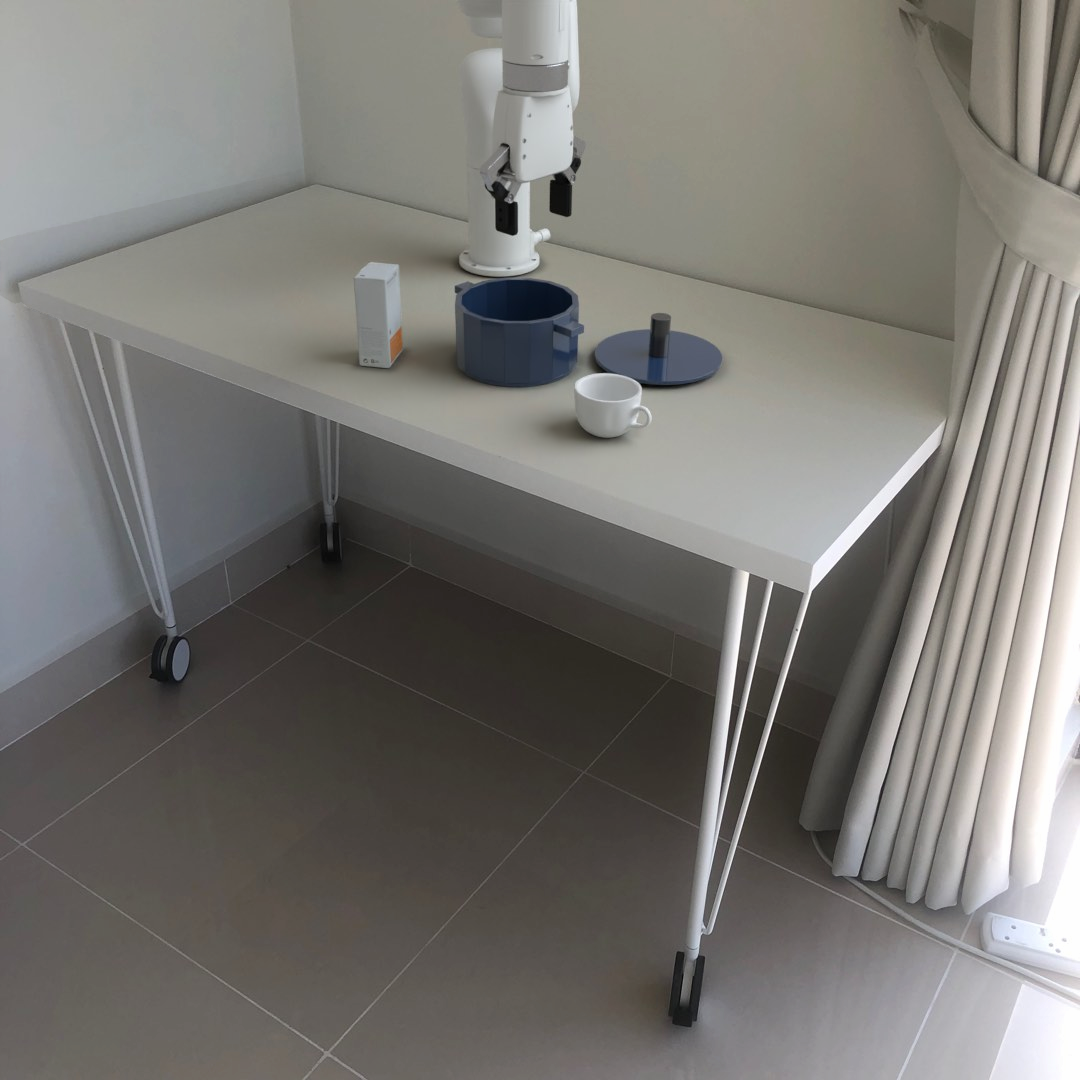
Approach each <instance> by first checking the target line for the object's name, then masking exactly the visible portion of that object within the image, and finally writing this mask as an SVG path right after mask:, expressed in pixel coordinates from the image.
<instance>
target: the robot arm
mask: <svg viewBox="0 0 1080 1080" xmlns="http://www.w3.org/2000/svg"><path fill="white" fill-rule="evenodd" d="M454 2H455V4H456V6H457V8H458V9H459V11H460V12H461V13H462V14H464V15H465V18H466V22H467V25H468V28H469V30H470V31H471V32H472V33H473V34H474V35H475V36H477V37H481V38H484V39H485V38H486V39H501V43H502V44H501V47H491V48H489V47H488V48H481V49H478V50H474V51H472V52H470V53H469V54H467V55H466V56H465V57H464V58H462V60H461V63H459V64H460V65H459V68H458V77H457V78H458V88H459V89H458V90H459V95H460V101H461V107H462V114H463V121H464V129H465V130H464V131H465V132H464V133H465V145H466V147H465V148H466V151H465V153H466V179H467V181H466V182H467V183H466V184H467V185H466V186H467V221H468V223H467V224H468V226H467V227H468V228H467V230H468V248H467V249H466V248H465V250H463V251H462V252H461V253H460V254H459V256H458V260H459V261H458V264H459V266H460V267H461V268H462V269H463V270H465V271H467V272H468V273H471V274H475V275H477V276H478V275H479V276H482V277H483V276H484V277H495V278H496V277H497V278H506V277H515V276H521V275H525V274H528V273H530V272H532V271H534V270H536V269H537V268H538V267H539V265H540V263H541V262H540V255H539V253H538V252H537V251H536V250H535V247H537V245H538V244H542V243H544V242H547V241H549V240H550V239H551V232H550V230H549V229H548V228H545V227H544V228H541V229H538V230H536V231H533V230H532V228H531V182H534V181H538V180H542V179H544V178H547V177H550V176H552V177H553V179H550V180H549V203H548V205H549V206H548V207H549V208H548V209H549V212H550V213H551V214H554V215H557V216H561V217H564V218H569V217H571V216H572V213H573V212H572V210H573V208H572V207H573V184H574V183H575V182H576V181H577V173H578V170H579V168H580V167H581V165H582V157H583V154H584V151H585V148H586V141H585V140H583V139H581V138H579V137H578V136H575V135H574V121H573V120H574V119H573V118H574V117H573V113H574V112H575V110H576V108H577V106H578V104H579V98H580V87H581V86H580V85H581V84H580V81H581V80H580V79H581V78H580V49H579V20H578V19H579V18H578V17H579V15H578V1H577V0H454Z"/></svg>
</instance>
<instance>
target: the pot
mask: <svg viewBox="0 0 1080 1080" xmlns="http://www.w3.org/2000/svg"><path fill="white" fill-rule="evenodd" d="M454 293H455V294H456V295H455V299H454V300H455V301H454V315H455V316H454V318H455V347H456V348H455V350H456V352H455V353H456V364H457V366H458V368H459V370H460V371H461V372H462V373H463V375H466V376H467V377H468V378H471V379H472V380H475V381H478V382H481V383H483V384H487V385H492V386H498V387H508V388H526V387H527V388H528V387H536V386H543V385H547V384H551V383H554V382H557V381H560V380H562V379H564V378H566V377H567V376H569V375H570V374H572V373H573V372H574V370H575V369H576V367H577V365H578V354H579V353H578V351H579V350H578V349H579V335H581V334H584V333H585V324H582V323H579V319H580V318H579V317H580V316H579V315H580V308H579V307H580V301H579V295H578V294H577V293H575V292H574V290H572V289H571V288H570V287H568V286H565V285H563V284H560V283H557V282H555V281H552V280H547V279H539V278H533V277H499V278H494V279H488V280H487V279H486V280H481V281H479V282H476V283H473V282H471V281H468V280H467V281H465V282H461V283H458V284H456V285H454Z"/></svg>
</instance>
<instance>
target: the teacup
mask: <svg viewBox="0 0 1080 1080" xmlns="http://www.w3.org/2000/svg"><path fill="white" fill-rule="evenodd" d="M573 393H574V408H575V414H576V419H577V421H578V424H579V425H580V426H581V428H582V429H583V430H584V431H586V432H587V433H589V434H590V435H592V436H595V437H597V438H604V439H608V438H611V439H612V438H616V437H619V436H622V435H625V434H626V433H628V432H629V431H630V430H631V429H638V430H639V429H644V428H647V427H648V426H650V425H651V423H652V420H653V419H652V418H653V417H652V412H651V411H650V409H649V408H647V406H644V405H641V403H642V396H643V395H642V394H643V387H642V385H641V383H638V382H637V381H635V380H633V379H631V378H629V377H626V376H623V375H618V374H610V373H608V372H603V373H601V372H600V373H592V374H588V375H584V376H583V377H580V378H578V379H577V380H576V381H575V382H574V389H573ZM640 412H644V414H645V415H646V421H645V423H638V422H637V420H638V419H639V415H640Z"/></svg>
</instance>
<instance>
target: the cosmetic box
mask: <svg viewBox="0 0 1080 1080" xmlns="http://www.w3.org/2000/svg"><path fill="white" fill-rule="evenodd" d="M353 289H354V302H355V318H356V330H357V346H358V360H359V362H358V363H359V366H362V367H372V368H380V369H381V368H382V369H391V367H392V365H393V364H394V363H395V361H396V360H397V358H399V356H400V355H401V354H402V353H403V351H404V347H403V345H404V344H403V326H402V325H403V324H402V323H403V322H402V302H401V282H400V265H399V264H398V263H397V264H396V263H394V264H393V263H384V262H374V261H369V262H368V263H367V264H365V266H364V267H362V268H361V269H359V271H358V272H357V274H356V275H355V276H354V277H353Z"/></svg>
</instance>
